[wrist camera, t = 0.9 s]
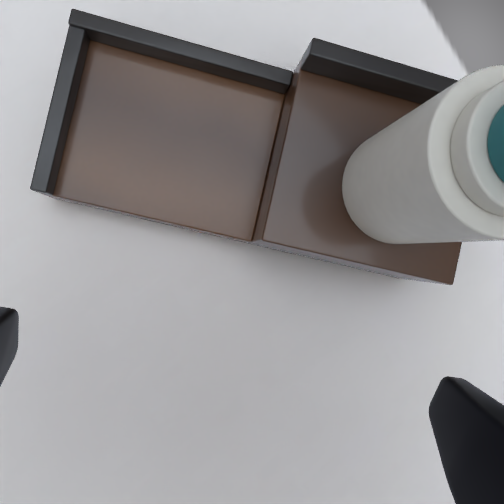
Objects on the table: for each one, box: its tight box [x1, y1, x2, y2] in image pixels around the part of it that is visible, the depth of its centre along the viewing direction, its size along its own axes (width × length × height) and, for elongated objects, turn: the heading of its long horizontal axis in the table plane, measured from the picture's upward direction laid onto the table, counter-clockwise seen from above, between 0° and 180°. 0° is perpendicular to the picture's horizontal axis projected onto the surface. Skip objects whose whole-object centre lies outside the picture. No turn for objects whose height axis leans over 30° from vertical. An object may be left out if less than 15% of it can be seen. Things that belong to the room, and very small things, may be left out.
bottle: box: [342, 65, 504, 244], centre depth 15 cm, size 5×5×9 cm
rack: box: [30, 9, 462, 285], centre depth 20 cm, size 8×19×6 cm, turn 77°
